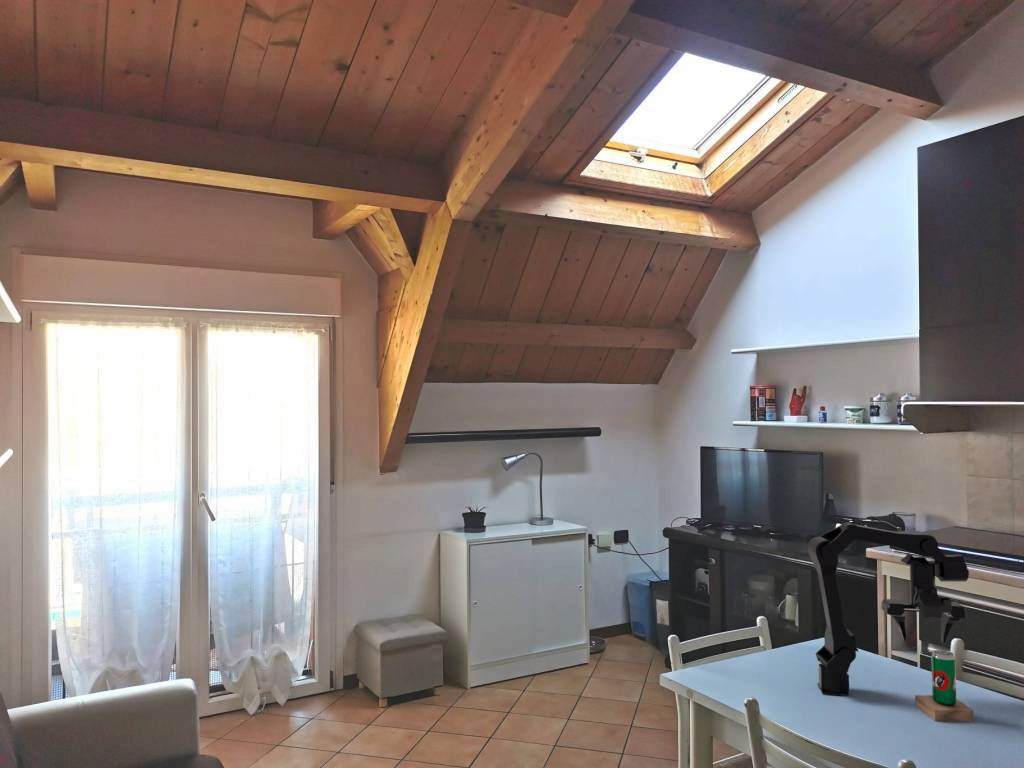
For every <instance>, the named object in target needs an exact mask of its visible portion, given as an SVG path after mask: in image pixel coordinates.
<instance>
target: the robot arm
mask: <svg viewBox="0 0 1024 768" xmlns="http://www.w3.org/2000/svg"><path fill="white" fill-rule="evenodd" d="M854 541H860V542H861V541H862V542H868V543H872V544H878V545H884V546H889V547H895V548H898V549H899V548H900V549H903V550H905V551H907V552H910V553H913V554H915V555H919V556H913V555H912V554H910V553H906V555H905V556H904V557H903V558H901V559H900V562H901V563H903V564H906V565H908V566H909V582H908V587H910V590H909V591H910V592H909V593H910V595H909V596H910V597H909V599H908V600H909V603H902V602H901V601H900V600H899V599H893V598H891V599H890V598H889V599H888V598H884V599H883V600H881V610H883V612H884V613H885V614H887V615H888V616H890V617H891V618H893V620H894V622H895V624H896V626H897V628H898V630H899V633H900V636H901V638H902V641H904V642H907V631H906V623H905V622H906V616H905V615H904V613H905V612H914V613H916V612H918V613H920V615H921V616H923V617H924V618H937V619H940V640H941V643H942V644H945V643H946V641H947V639H948V636H949V633H950V631H951V628H952V627H953V625H954V624H955V623H956V622H961V621H962V619H967V618H968V616H967V614H968V613H967V609H966V608H965V606H964V605H962V604H960V603H959V602H958V601H952V599H951V598H950V597H947V596H946V597H945V596H941V597H939V595H938V589H937V587H936V578H938V580H939V582H947V583H948V582H949V583H951V582H955V583H956V582H958V583H960V582H963V583H965V582H967V581H968V579H969V575H970V572H969V569H968V566H967V563H966V562H965V560H964V559H965V558H964V556H963V555H961V554H952V555H951V554H948V555H947V554H944V553H943V551H942V549H940V548H939V544H938V540H937V538H935V536H933V535H930V534H927V533H926V532H922V531H920V530H919V531H918V530H901V531H900V530H899V531H893V530H887V529H882V528H877V527H871V526H866V525H865V526H864V525H860V524H859V525H858V524H853V523H852V522H851V523H850V522H847V521H846V522H843V523H841V524H840V525H838V526H836V527H835V528H833V529H830V530H828V531H826V532H824V533H823V534H821V535H820V536H815V537H812V538H811V539H810V541H809V542H808V543H807V551H808V555H809V556H810V557H809V558H810V560H811V562H812V565H813V566H814V568H815V570H816V572H817V578H818V583H819V588H820V593H821V599H822V604H823V611H824V616H825V622H826V627H825V630H824V631H825V632H824V645H823V646H822V647H821V648H819V649H818V650H817V651H816V653H815V657H816V659H817V661H818V662H820V663H819V664H818V682H817V686H818V689H819V691H820V692H821V694H822V695H830V696H831V695H832V696H849V695H850V693H849V691H850V675H849V673H848V672H849V669H850V666H851V664H852V663H853V662H854V661H855V660H856V658H857V652H859V649H858V648H857V643H856V640H857V639H856V635H855V634H854V633H852V632H851V631H850V630H849V629H848V628H846V624H845V619H844V611H843V607H842V606H843V605H842V601H841V595H840V589H839V585H838V579H837V570H838V567H839V554H841V553H842V552H844V551H845V550H846V549H847V548H849V546H850V545H851V543H852V542H854ZM927 558H930V559H932V560H930V559H927Z"/></svg>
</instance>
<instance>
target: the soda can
mask: <svg viewBox="0 0 1024 768" xmlns="http://www.w3.org/2000/svg"><path fill="white" fill-rule="evenodd" d="M954 655H955V654H954V652H953V651H949V650H944V649H934V650H933V651H932V654H931V658H930V659H931V695H932V699H933V700H934V701H935V702H936V703H937V704H940V705H944V706H953V705H955V704H956V699H957V671H956V669H957V664H956V663H957V661H956V657H955V656H954Z"/></svg>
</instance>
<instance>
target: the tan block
mask: <svg viewBox="0 0 1024 768" xmlns="http://www.w3.org/2000/svg"><path fill="white" fill-rule="evenodd" d="M914 706H915V707H916V708H918V709H919V710H920V711H922V712H923V713H924V714H926V715H927V716H928V717H929V718H931V719H932V720H933V721H934V722H952V721H953V722H974V719H975V718H974V717H975V716H974V715H975V713H974V709H972V708H971V707H970V706H968V705H967V704H965V703H964V702H962V701H961V700H959V699H958V698H956V704H955V705H953V706H944V705H940V704H937V703H936V702H935V701H934V700H933V699H932V694H931V695H929V694H925V695H923V694H921V695H920V694H918V695H917V694H916V695H914Z"/></svg>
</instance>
